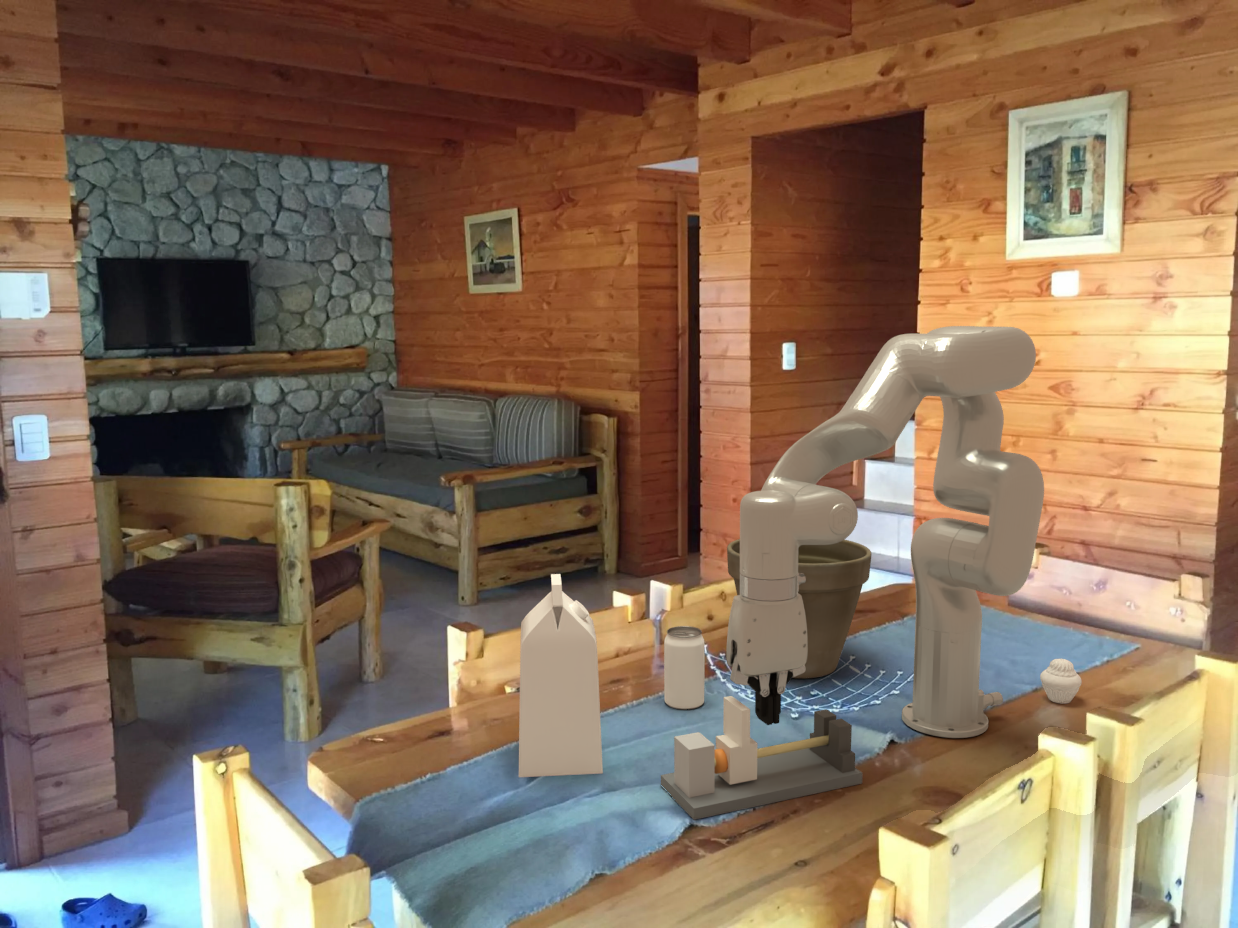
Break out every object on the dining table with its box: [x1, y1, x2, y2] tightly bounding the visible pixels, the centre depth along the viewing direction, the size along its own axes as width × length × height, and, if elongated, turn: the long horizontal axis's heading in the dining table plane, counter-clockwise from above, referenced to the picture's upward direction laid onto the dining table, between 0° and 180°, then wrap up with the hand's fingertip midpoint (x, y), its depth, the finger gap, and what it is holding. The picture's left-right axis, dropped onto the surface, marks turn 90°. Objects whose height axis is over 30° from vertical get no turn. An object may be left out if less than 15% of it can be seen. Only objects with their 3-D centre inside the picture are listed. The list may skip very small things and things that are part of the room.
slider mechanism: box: [660, 708, 863, 821], centre depth 134 cm, size 25×10×8 cm, turn 112°
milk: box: [518, 573, 604, 778], centre depth 142 cm, size 12×12×26 cm
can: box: [663, 625, 706, 711], centre depth 163 cm, size 6×6×12 cm
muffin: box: [1039, 658, 1082, 704], centre depth 163 cm, size 6×6×7 cm
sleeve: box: [715, 695, 758, 785], centre depth 133 cm, size 4×5×10 cm
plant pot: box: [726, 538, 872, 679], centre depth 179 cm, size 25×25×22 cm
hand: (767, 720), depth 134 cm, fingers closed
